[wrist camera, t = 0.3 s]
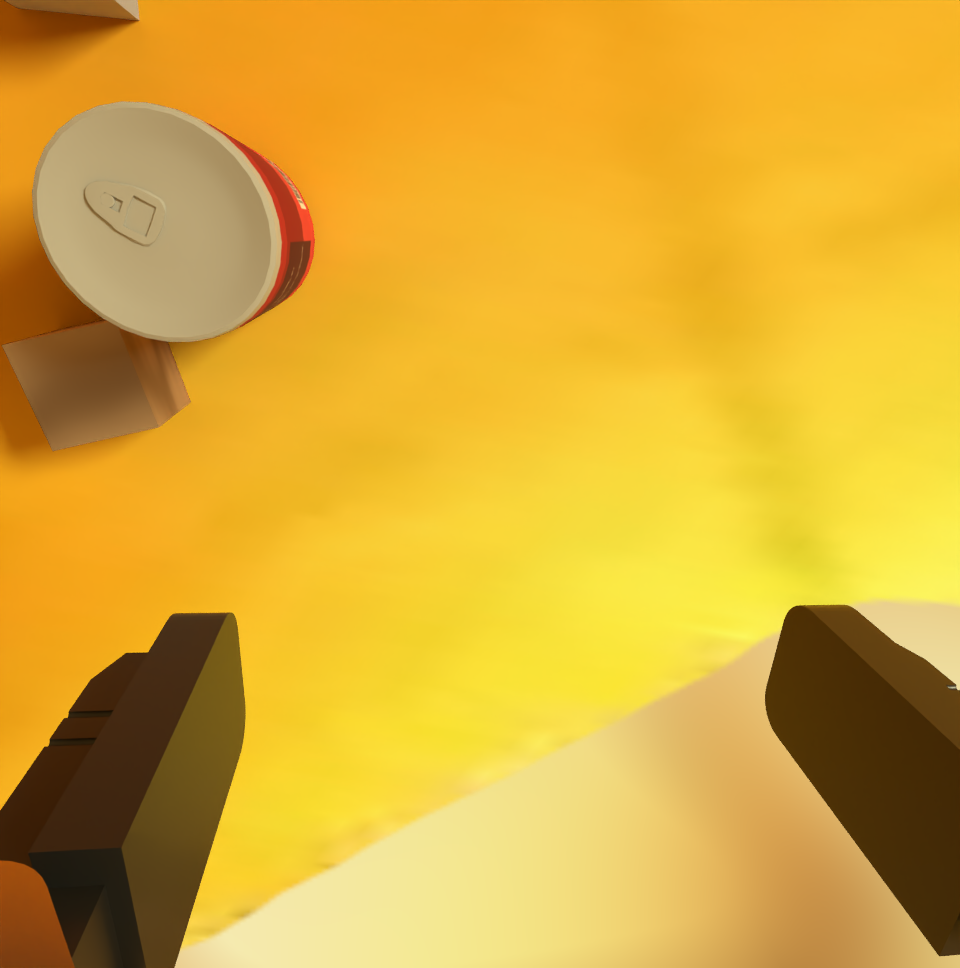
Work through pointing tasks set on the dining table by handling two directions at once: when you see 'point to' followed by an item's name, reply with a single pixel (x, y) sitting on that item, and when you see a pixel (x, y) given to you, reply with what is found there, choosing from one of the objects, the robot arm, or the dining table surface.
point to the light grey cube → (84, 7)
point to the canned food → (168, 222)
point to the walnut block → (97, 382)
